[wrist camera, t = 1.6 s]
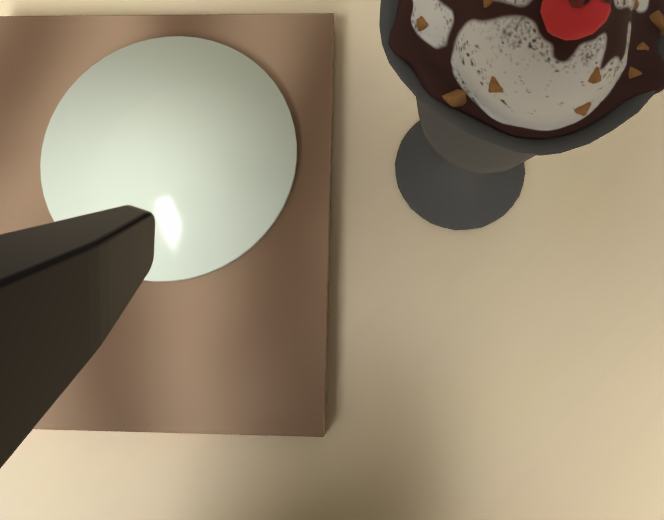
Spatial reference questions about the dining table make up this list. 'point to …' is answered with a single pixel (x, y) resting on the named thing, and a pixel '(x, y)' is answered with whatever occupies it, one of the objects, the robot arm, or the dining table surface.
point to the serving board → (209, 290)
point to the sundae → (511, 91)
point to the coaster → (175, 150)
